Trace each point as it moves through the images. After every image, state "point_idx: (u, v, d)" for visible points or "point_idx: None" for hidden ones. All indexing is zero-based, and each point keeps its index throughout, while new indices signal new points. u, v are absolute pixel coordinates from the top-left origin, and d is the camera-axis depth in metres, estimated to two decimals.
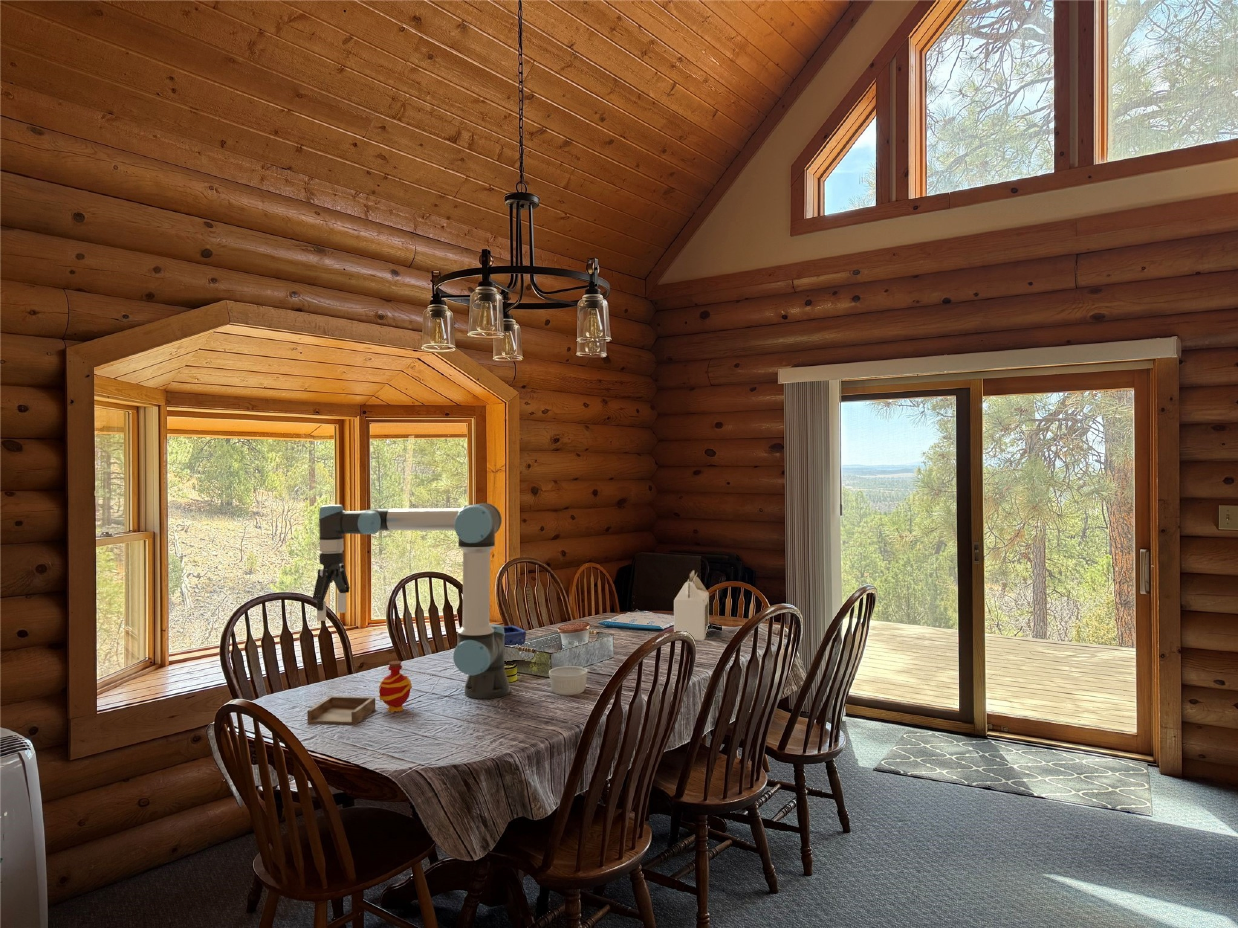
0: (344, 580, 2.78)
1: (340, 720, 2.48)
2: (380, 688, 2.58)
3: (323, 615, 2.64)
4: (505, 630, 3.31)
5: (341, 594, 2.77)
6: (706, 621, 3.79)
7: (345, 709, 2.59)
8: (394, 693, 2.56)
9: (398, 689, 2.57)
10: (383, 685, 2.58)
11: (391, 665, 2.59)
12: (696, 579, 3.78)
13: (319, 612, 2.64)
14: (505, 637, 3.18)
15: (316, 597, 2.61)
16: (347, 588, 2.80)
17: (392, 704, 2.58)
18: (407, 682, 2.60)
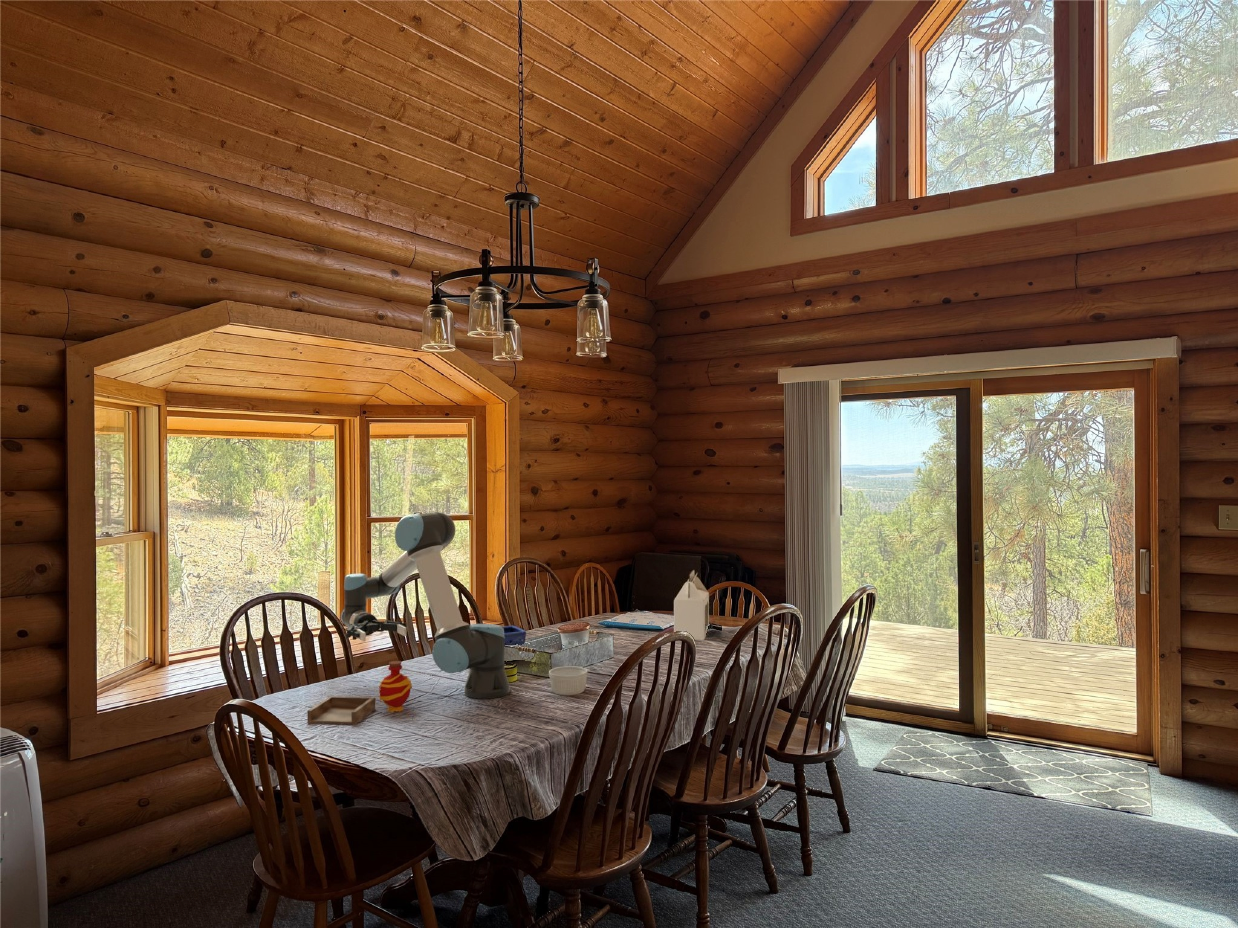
0: (395, 623, 2.82)
1: (340, 720, 2.48)
2: (380, 688, 2.58)
3: (361, 633, 2.66)
4: (505, 630, 3.31)
5: (397, 628, 2.77)
6: (706, 621, 3.79)
7: (345, 709, 2.59)
8: (394, 693, 2.56)
9: (398, 689, 2.57)
10: (383, 685, 2.58)
11: (391, 665, 2.59)
12: (696, 579, 3.78)
13: (360, 637, 2.67)
14: (505, 637, 3.18)
15: None
16: (403, 623, 2.80)
17: (392, 704, 2.58)
18: (407, 682, 2.60)
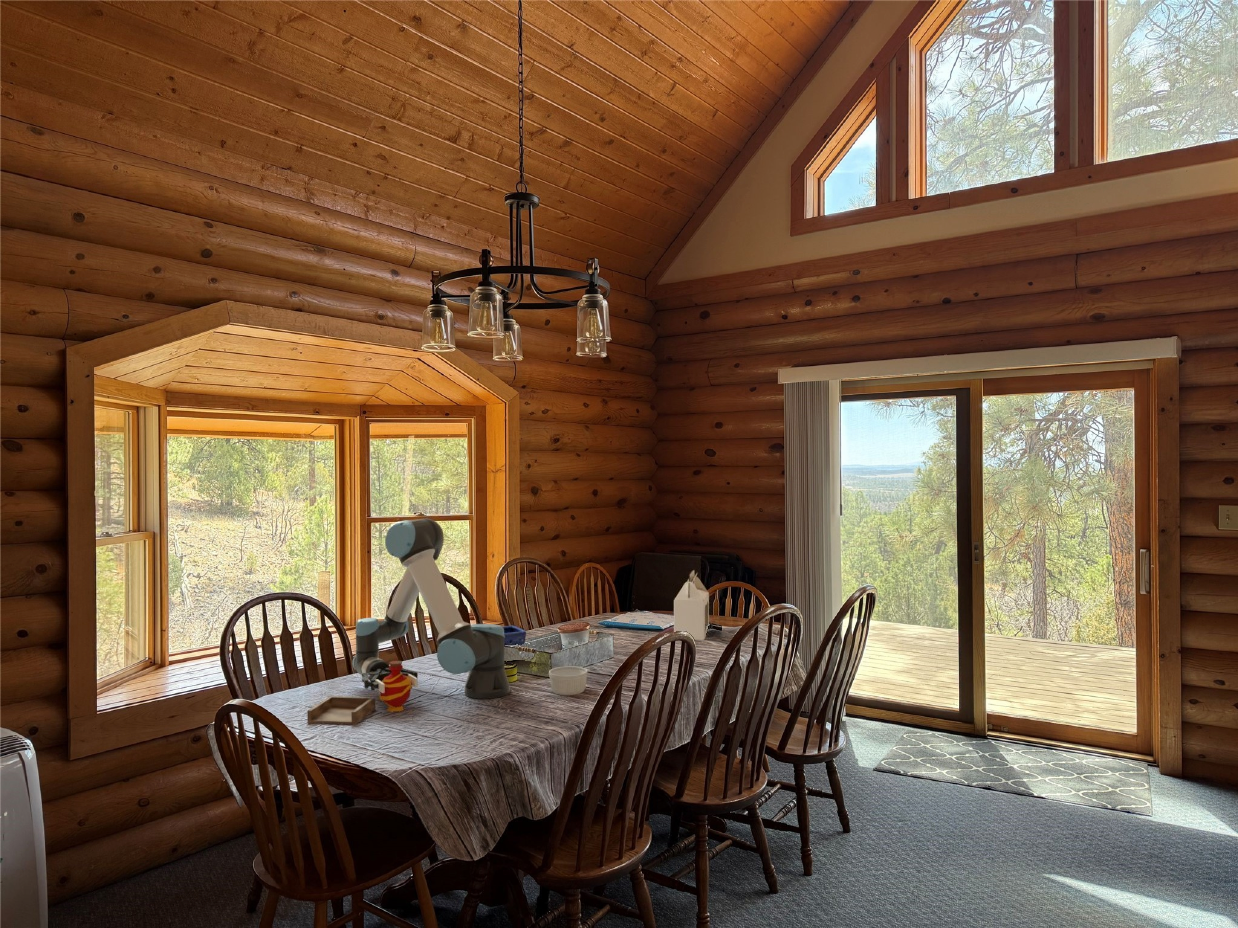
0: (407, 672, 2.70)
1: (340, 720, 2.48)
2: None
3: (380, 684, 2.55)
4: (505, 630, 3.31)
5: None
6: (706, 621, 3.79)
7: (345, 709, 2.59)
8: (394, 693, 2.56)
9: (399, 689, 2.57)
10: None
11: (392, 665, 2.59)
12: (696, 579, 3.78)
13: (379, 688, 2.56)
14: (505, 637, 3.18)
15: (364, 684, 2.59)
16: (413, 673, 2.68)
17: (392, 704, 2.58)
18: (407, 682, 2.60)
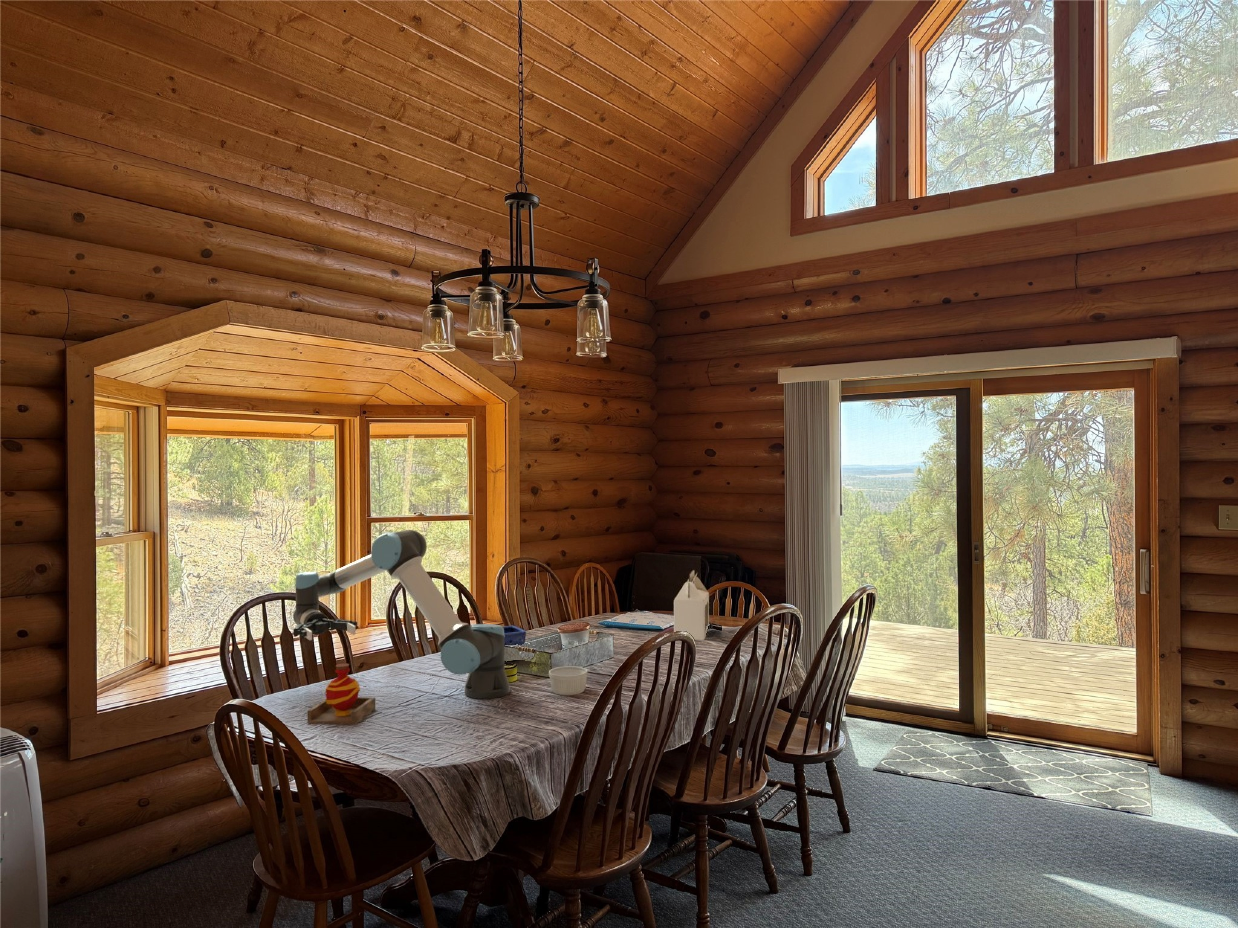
0: None
1: (340, 720, 2.48)
2: (326, 691, 2.52)
3: (308, 632, 2.59)
4: (505, 630, 3.31)
5: (347, 627, 2.71)
6: (706, 621, 3.79)
7: None
8: (340, 697, 2.50)
9: (345, 692, 2.50)
10: (329, 688, 2.51)
11: (338, 668, 2.53)
12: (696, 579, 3.78)
13: (307, 636, 2.60)
14: (505, 637, 3.18)
15: (293, 632, 2.63)
16: (353, 622, 2.74)
17: (339, 708, 2.51)
18: (354, 685, 2.53)
